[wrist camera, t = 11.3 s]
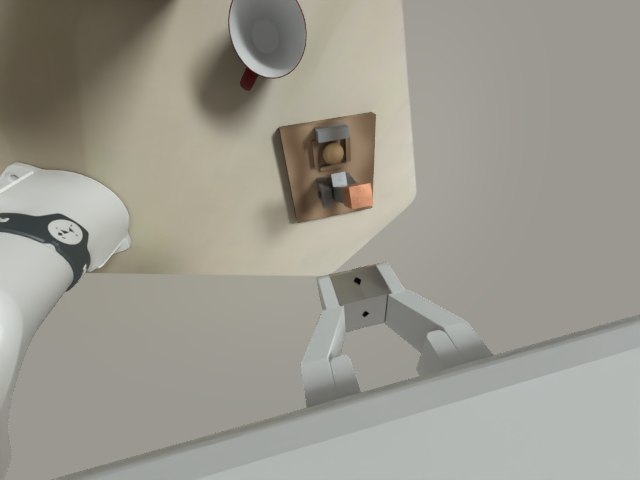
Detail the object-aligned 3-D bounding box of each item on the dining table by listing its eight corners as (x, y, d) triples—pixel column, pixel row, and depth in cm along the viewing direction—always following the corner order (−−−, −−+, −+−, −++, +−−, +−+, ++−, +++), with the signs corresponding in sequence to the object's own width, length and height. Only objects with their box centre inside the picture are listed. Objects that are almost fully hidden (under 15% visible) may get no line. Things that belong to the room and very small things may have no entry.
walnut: (325, 163, 44) (330, 171, 41) (317, 146, 42) (321, 153, 39) (343, 154, 43) (349, 160, 41) (335, 135, 41) (341, 141, 39)
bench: (296, 217, 52) (301, 237, 46) (278, 127, 40) (282, 138, 35) (368, 203, 53) (381, 220, 48) (371, 112, 42) (388, 121, 37)
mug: (277, 100, 38) (282, 113, 30) (222, 73, 35) (213, 80, 27) (304, 20, 33) (319, 10, 25) (244, -21, 30) (240, -46, 22)
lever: (331, 200, 44) (352, 209, 31) (326, 174, 43) (346, 172, 30) (345, 197, 45) (373, 205, 31) (342, 172, 44) (368, 168, 30)
